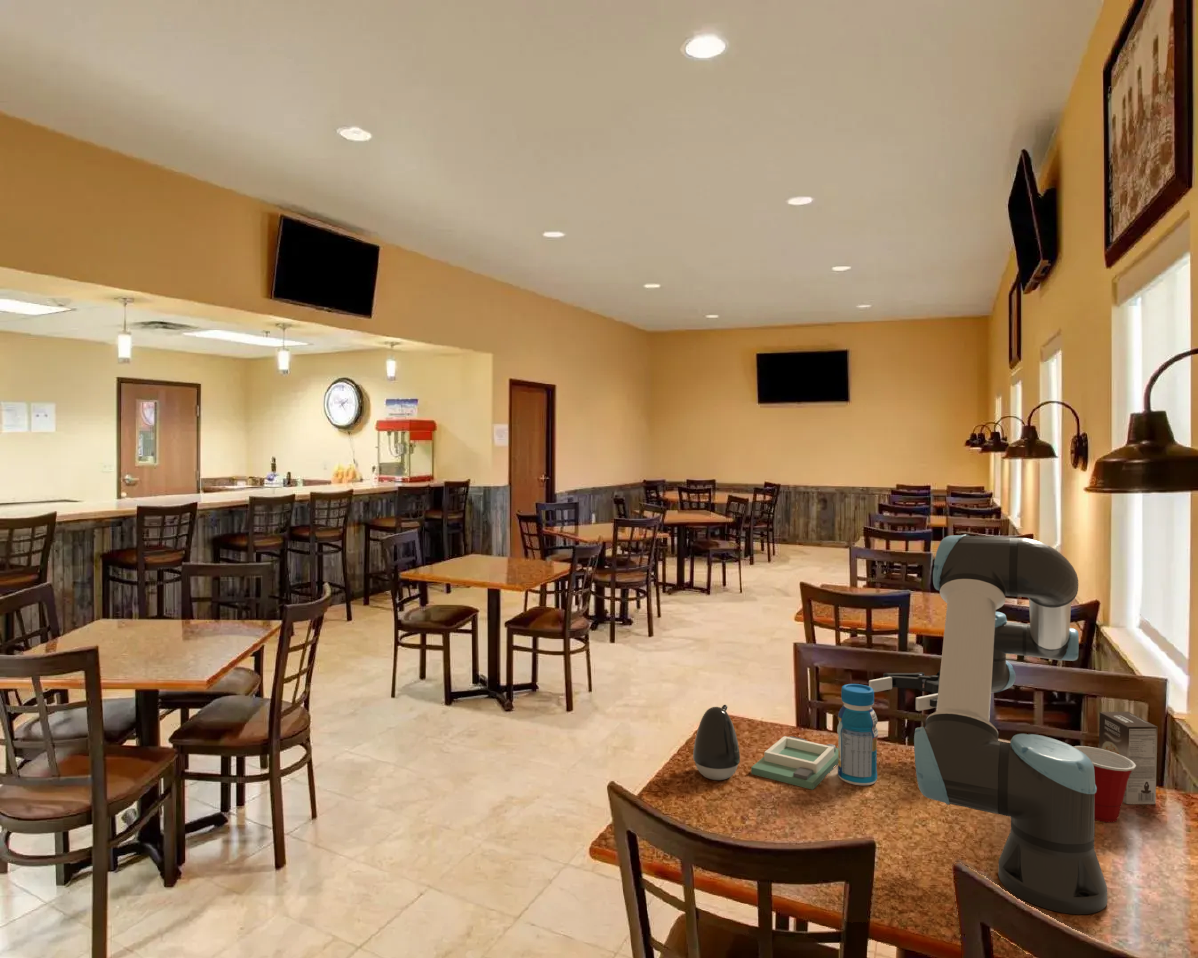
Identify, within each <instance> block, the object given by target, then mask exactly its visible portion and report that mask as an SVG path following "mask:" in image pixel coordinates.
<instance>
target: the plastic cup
mask: <svg viewBox="0 0 1198 958" xmlns="http://www.w3.org/2000/svg"><path fill="white" fill-rule="evenodd" d="M1073 747H1075V748H1076V749H1078V750H1080V751H1081V752H1083V753H1084V754H1085V755H1086V756H1087V757H1088V758H1089V759H1090V760H1091V762H1092V763H1093V766H1094V773H1095V785H1096V787H1097V790H1096V793H1095V794H1094V821H1098V822H1102V823H1115V822H1117V821H1118V819H1119V817H1120V812H1121V809H1122V804H1123V803H1124V802H1123V798H1124V794H1125V790H1126V786H1127V781H1128V779H1129V776H1130V774H1131V771H1132V770H1134V768H1135V767H1136V765H1135V763H1134V762H1133V761H1131V760H1130V759H1128V758H1126V757H1124V756H1122V755H1119V754H1116V753H1114V752H1110V751H1107V750H1103V749H1099V747H1092V746H1085V745H1075V746H1073Z"/></svg>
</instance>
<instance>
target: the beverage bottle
mask: <svg viewBox="0 0 1198 958" xmlns="http://www.w3.org/2000/svg"><path fill="white" fill-rule="evenodd" d="M840 693H841V694H840V695H841V696H840V697H841V702H842V707H840V709H839V711H838V715H837V720H838V724H837V728H836V729H837V730H836V731H837V736H838V739H837V741H838V742H837V743H838V747H837V748H838V764H837V766H838V767H837V777H838V778H839V779H840V780H842V781H843V782H845V783H847V784H850V785H854V786H870V785H871V786H872V785H873V784H875V783H876V782H877V780H878V769H877V765H878V764H877V761H878V760H877V755H878V748H877V747H878V738H879V730H878V728H877V724H878V722H879V721H878V717H877V716H878V715H877V714H876V712H875V710H874V709H873V706H874V703H875V692H874V690H873V688H871V687H869V685H864V684H861V683H860V684H859V683H848V684H844V685H842V686H841V691H840Z"/></svg>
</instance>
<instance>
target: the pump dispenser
mask: <svg viewBox="0 0 1198 958" xmlns="http://www.w3.org/2000/svg"><path fill="white" fill-rule="evenodd" d="M727 710H728V705H727V704H722V706H721V707H719V706H712V707H710V708H708V709H706V711H705V712H704V713H703V715H702V718H701V719H700V722H699V725H698V728H697V731H696V735H695V739H694V743H693V746H694V747H693V752H692V754H693V755H692V759H693V761H694V763H695V766H696V768H697V771H698V772H699V773H700V774H701V776H703V777H704V778H707V779H708V780H712V781H723V780H726V779H730V778H731V777H732V776H733V775H734V774H735V773H736V771H737V769H738V766H739V764H740V762H741V755H740V748H739V747H740V746H739V742H738V738H737V736H738V735H737V732H736V729H735V727H734V723H733V721H732V719H731V716H730V715H729V713H728V712H727Z"/></svg>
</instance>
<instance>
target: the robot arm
mask: <svg viewBox="0 0 1198 958" xmlns="http://www.w3.org/2000/svg"><path fill="white" fill-rule="evenodd" d="M935 553H936V554H935V558H934V561H933V566H934V567H933V571H932V583H933V587H934V589H935V590H936V591H939V596H940V598H941V599H942V600H943V602H945V604H946V612H945V620H944V621H945V622H944V631H943V641H942V651H941V653H942V654H941V660H940V661H941V663H940V669H939V670H938V672H937V673H936V674H935V675H934V674H933V675H932V674H931V675H925V672H922V671H920V672H884V673H883V677H880V678H876V679H869V680H868V686H869V687H871V688H873V690H874V693H878V692H883V691H887V690H888V691H891V690H892V689H893V688H896V689H897V688H901V689H914V690H918V691H919V692H927V693H931V694H928V695H922V696H918V697H915V711H918V712H921V711H924V710H925V711H926V710H931V709H934V708H936V710H935V711H934V712H933V713H930V714H929V715H928V716H927V717H926V719H925V726H920V727H915V730H914V734H913V735H914V736H913V737H914V738H913V743H914V744H913V745H914V746H913V749H914V763H915V765H914V766H915V775H916V781H917V785H918V789H919V791H920V793H921V794H922V795H923V797H925V798H927V799H929V800H933V801H935V802H941V803H944V804H945V805H952V806H953V805H954V806H958V807H963V808H968V809H972V810H976V811H982V812H986V813H992V814H995V815H1000V816H1005V817H1009V818H1010V831H1009V835H1008V836H1007V838H1006V841H1005V842H1004V846H1003V849H1002V851H1001V853H1000V855H999V860H998V871H997V873H998V879H999V881H1000V882H1001V884H1002V885H1003V886H1004V887H1005V889H1007V890H1008V891H1009V892H1011V893H1012V894H1014V895H1015V896H1016V897H1017V898H1020V899H1021V900H1024V901H1025V902H1028V903H1030V904H1032V905H1034V906H1037V907H1041V908H1043V909H1046V910H1050V911H1054V912H1058V913H1064V914H1070V915H1071V914H1072V915H1088V914H1095V913H1098V912H1100V911H1103V910H1104V909H1106V906H1107V904H1108V885H1107V882H1106V879H1105V876H1104V874H1103V871H1102V868H1101V865H1100V861H1099V860H1098V859H1099V858H1098V856H1097V853H1096V850H1095V836H1096V835H1095V820H1094V794H1095V793H1096V790H1097V787H1096V785H1095V773H1094V766H1093V763H1092V762H1091V760H1090V759H1089V758H1088V757H1087V756H1086V755H1085V754H1084V753H1083V752H1081V751H1080V750H1078V749H1076V748H1075V747H1074V746H1072V745H1071V744H1068V743H1066V742H1064V741H1061V740H1058V739H1055V738H1053V737H1048V736H1045V735H1041V734H1040V735H1039V734H1035V733H1028V734H1027V733H1017V734H1015V735H1013V736H1012V737H1011V739H1010V742H1006V741H1000V740H999V731H998V729H997V728H996V727H995V726H994V725H993V723H992V722H990V718H991V717H990V715H991V702H992V700H991V698H992V694H993V693H1000V692H1003V691H1005V690H1007V689H1010V688H1011V687H1013V685H1014V684H1015V682H1016V678H1017V677H1016V672H1015V669H1014V667H1013V665H1012V664H1011V663H1010V662H1009V661H1008V660H1007V654H1008V655H1015V656H1025V657H1032V658H1041V659H1048V660H1056V661H1070V662H1071V661H1072V662H1074V661H1077V660H1078V659H1079V648H1080V646H1079V645H1080V643H1079V641H1080V640H1079V639H1080V637H1079V636H1080V635H1079V631H1078V630H1077V629H1076V628H1073V627H1071V611H1072V603H1073V601H1074V600H1075V599H1076V597H1077V595H1078V592H1079V577H1078V574H1077V572H1076V569H1075V568H1074V566H1073V565H1072V563H1071V562H1070V561H1069V560H1068V559H1067V557H1065V556H1064V555H1063V554H1062V553H1061V552H1060V551H1058V550H1056V549H1055V548H1053V547H1051V546H1050V545H1048V544H1047V543H1045V542H1042V541H1039V540H1037V539H1032V538H1029V537H1028V538H1027V537H1008V536H1007V537H1005V536H1004V537H1001V536H980V535H979V536H977V535H975V536H974V535H969V534H960V535H959V534H958V535H952V534H951V535H946V536H945V537H943V539H941V540H940V542H939V544H938V547H937V549H936V552H935ZM1006 597H1017V598H1018V597H1021V598H1022V597H1023V598H1027V599H1028V605H1029V607H1028V608H1029V623H1024V622H1012V621H1008V619H1007V615H1006V614H1005V613H1003V612H1000V611H997V610H998V609H1000V608H1002V607H1003V606H1004V605H1005V604H1006V603H1005V602H1006ZM923 685H924V687H923Z"/></svg>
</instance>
